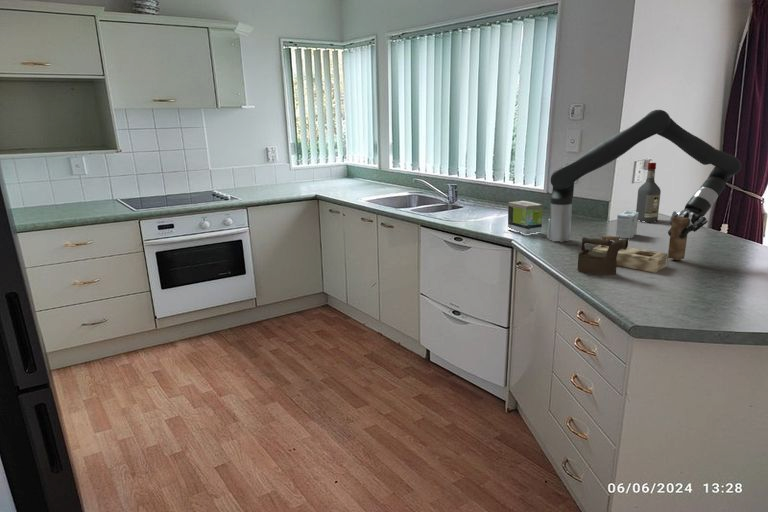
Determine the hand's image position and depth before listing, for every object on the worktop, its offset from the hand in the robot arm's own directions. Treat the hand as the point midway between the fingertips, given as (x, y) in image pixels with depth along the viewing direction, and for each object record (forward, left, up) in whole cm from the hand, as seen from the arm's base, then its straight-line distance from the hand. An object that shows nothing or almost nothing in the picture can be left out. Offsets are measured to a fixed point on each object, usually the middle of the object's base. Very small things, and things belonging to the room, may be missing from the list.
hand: (675, 236), depth 190 cm
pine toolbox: (-11, -13, -10) cm, 20 cm away
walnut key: (+1, +2, -9) cm, 9 cm away
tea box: (-70, +8, -10) cm, 71 cm away
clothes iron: (-15, -30, -10) cm, 35 cm away
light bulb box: (-29, +29, -10) cm, 42 cm away
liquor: (-34, +66, -10) cm, 75 cm away
